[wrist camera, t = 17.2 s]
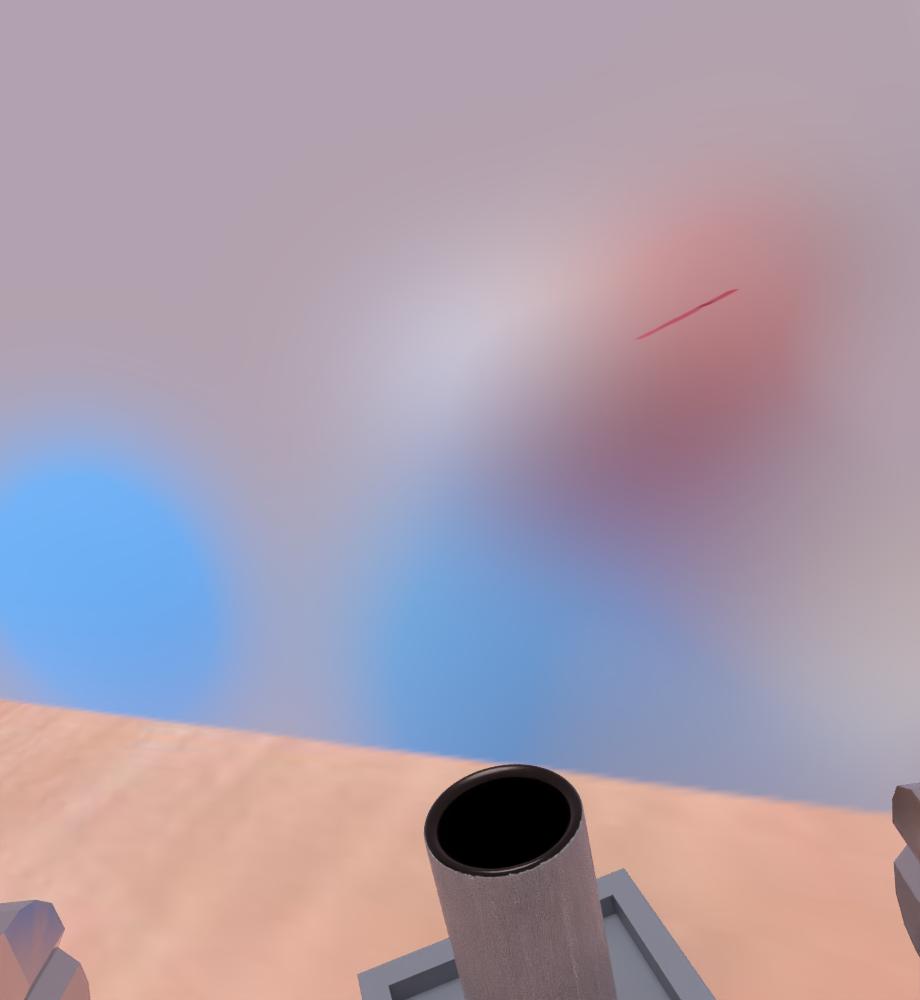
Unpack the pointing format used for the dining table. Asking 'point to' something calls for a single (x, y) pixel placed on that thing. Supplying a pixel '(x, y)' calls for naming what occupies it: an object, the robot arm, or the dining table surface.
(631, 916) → the tray
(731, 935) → the dining table surface
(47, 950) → the robot arm
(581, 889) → the grey cylindrical container
